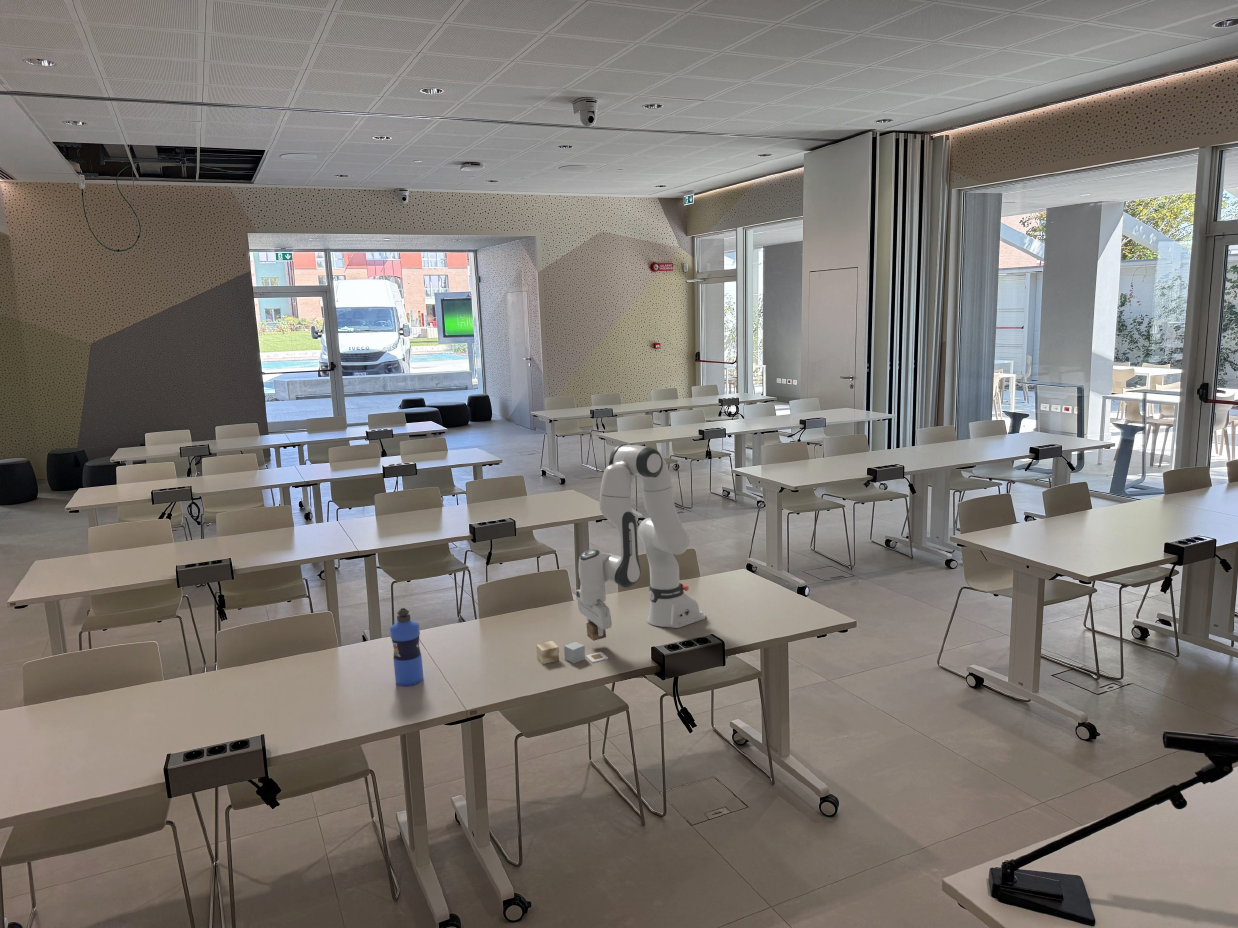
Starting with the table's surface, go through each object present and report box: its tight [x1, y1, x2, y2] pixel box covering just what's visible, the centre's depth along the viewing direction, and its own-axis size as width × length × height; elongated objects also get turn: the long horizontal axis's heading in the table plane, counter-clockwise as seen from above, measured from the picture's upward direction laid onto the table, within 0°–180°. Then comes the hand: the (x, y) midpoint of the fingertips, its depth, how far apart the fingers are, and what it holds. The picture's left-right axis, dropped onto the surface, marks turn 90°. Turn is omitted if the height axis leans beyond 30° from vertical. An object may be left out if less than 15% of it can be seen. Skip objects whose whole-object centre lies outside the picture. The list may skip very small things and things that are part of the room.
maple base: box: [535, 640, 560, 665], centre depth 293 cm, size 6×6×5 cm
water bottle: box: [389, 607, 424, 687], centre depth 279 cm, size 9×9×25 cm
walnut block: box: [585, 621, 607, 642], centre depth 301 cm, size 5×5×5 cm
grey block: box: [563, 641, 586, 664], centre depth 292 cm, size 5×5×5 cm
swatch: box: [585, 651, 609, 664], centre depth 293 cm, size 6×6×1 cm
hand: (596, 632), depth 302 cm, fingers closed on walnut block, 5 cm apart
